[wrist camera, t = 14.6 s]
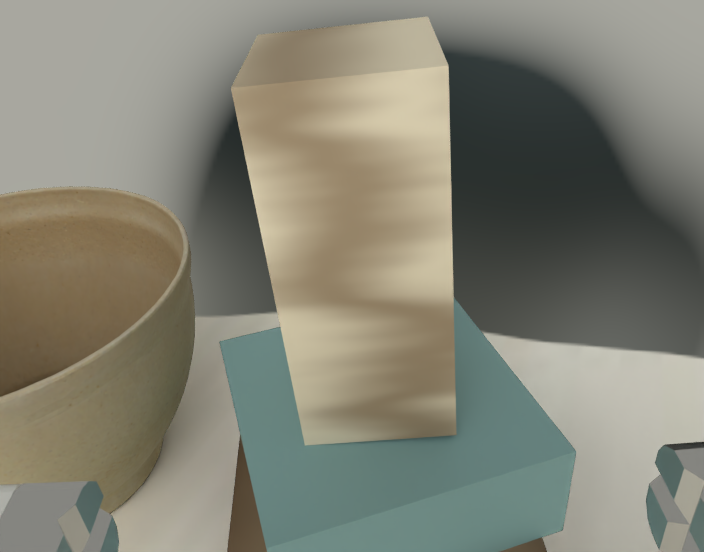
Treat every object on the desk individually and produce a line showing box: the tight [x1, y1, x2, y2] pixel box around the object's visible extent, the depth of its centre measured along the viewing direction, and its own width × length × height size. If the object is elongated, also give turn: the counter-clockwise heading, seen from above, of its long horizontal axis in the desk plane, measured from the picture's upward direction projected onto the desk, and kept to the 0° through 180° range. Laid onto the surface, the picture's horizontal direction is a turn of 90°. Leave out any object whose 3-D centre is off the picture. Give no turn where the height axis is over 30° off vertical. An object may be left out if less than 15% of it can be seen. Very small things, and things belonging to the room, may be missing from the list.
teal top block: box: [220, 297, 576, 552], centre depth 25 cm, size 10×10×4 cm
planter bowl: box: [0, 186, 195, 513], centre depth 29 cm, size 16×16×11 cm
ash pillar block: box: [231, 17, 456, 446], centre depth 20 cm, size 5×5×12 cm
